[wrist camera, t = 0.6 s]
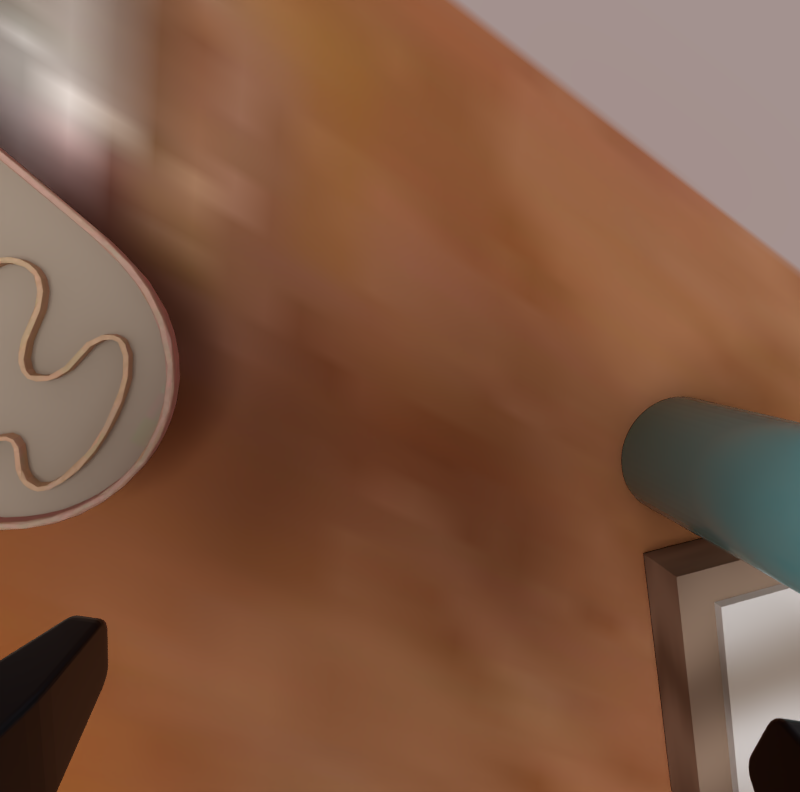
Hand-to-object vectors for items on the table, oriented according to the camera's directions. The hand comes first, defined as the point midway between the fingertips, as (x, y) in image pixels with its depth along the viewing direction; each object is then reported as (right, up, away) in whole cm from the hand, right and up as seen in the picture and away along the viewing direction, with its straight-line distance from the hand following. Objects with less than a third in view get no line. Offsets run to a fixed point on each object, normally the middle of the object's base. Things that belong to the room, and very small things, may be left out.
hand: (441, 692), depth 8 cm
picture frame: (+17, -7, +19) cm, 27 cm away
